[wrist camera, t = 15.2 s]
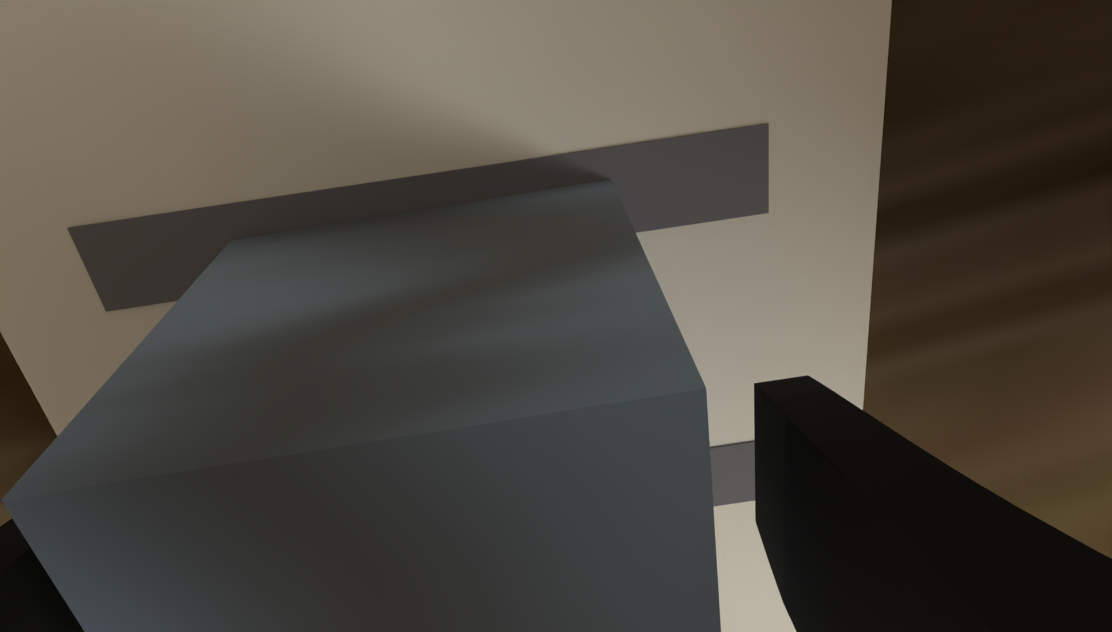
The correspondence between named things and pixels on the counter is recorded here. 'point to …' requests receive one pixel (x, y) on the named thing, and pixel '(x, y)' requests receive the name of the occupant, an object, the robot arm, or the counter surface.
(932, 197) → the counter surface
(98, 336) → the letter board
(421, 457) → the slate-blue cube
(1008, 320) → the counter surface
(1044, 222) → the counter surface
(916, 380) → the counter surface
